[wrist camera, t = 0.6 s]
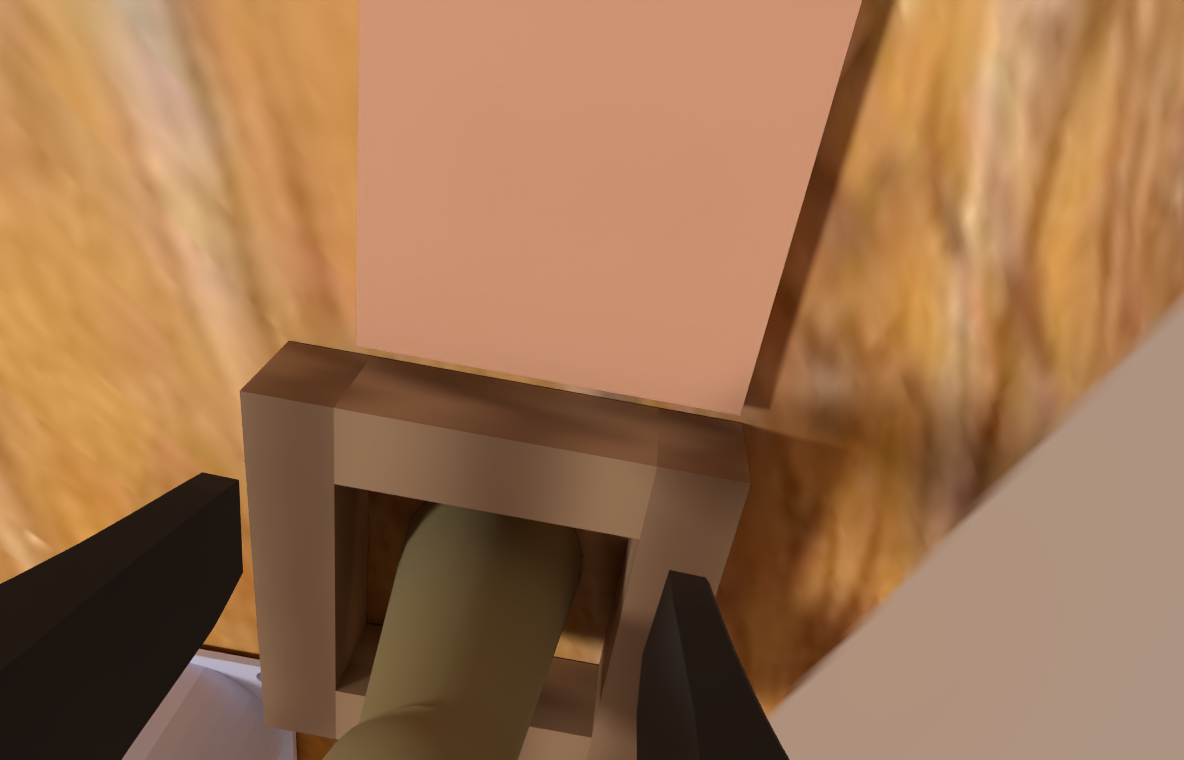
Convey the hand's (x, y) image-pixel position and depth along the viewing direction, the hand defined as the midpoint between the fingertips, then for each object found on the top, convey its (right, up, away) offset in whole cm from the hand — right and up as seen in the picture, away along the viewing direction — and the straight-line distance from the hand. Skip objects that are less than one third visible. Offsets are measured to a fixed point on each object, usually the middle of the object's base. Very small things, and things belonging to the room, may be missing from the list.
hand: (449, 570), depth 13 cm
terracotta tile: (+2, +8, +7) cm, 11 cm away
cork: (-1, -3, +14) cm, 14 cm away
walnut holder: (-1, -3, +14) cm, 14 cm away
